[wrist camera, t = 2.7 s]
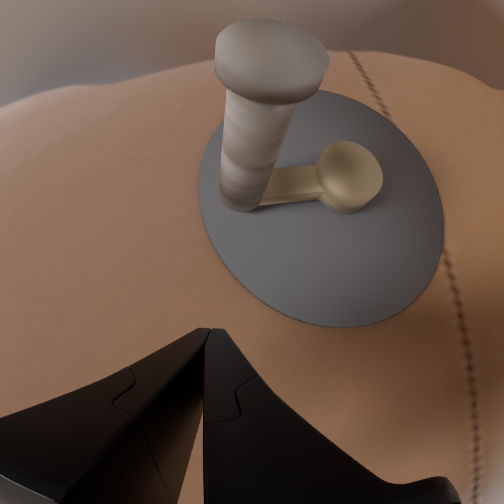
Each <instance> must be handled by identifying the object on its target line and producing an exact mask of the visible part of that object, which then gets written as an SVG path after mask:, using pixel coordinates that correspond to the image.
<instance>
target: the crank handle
mask: <svg viewBox="0 0 504 504" xmlns="http://www.w3.org/2000/svg"><path fill="white" fill-rule="evenodd" d="M328 65H329V55H328V52H327V50H326V49H325V47H324V46H323V44H322V43H321V42H320V41H319V40H318V39H317V38H316V37H314V36H313V35H312V34H310V33H309V32H307V31H305V30H303V29H301V28H299V27H297V26H295V25H292V24H289V23H285V22H282V21H276V20H270V19H250V20H244V21H240V22H237V23H234V24H232V25H230V26H228V27H226V28H225V29H224V30H223V31H221V32H220V34H219V35H218V37H217V40H216V49H215V72H216V75H217V77H218V79H219V80H220V81H221V83H222V84H223V85H224V86H225V87H226V88H227V95H226V106H225V117H224V128H223V140H222V153H221V166H220V180H219V196H220V199H221V201H222V202H223V204H224V205H225V206H226V207H228V208H229V209H231V210H234V211H237V212H247V211H250V210H253V209H255V208H256V207H257V206H261V205H270V204H279V203H288V202H298V201H308V200H319V201H320V202H321V203H322V204H323V205H325V206H326V207H327V208H329V209H331V210H333V211H335V212H338V213H343V214H350V213H354V212H357V211H358V210H360V209H361V208H362V207H363V206H365V205H366V204H367V203H368V202H369V201H370V200H371V199H372V198H373V197H374V196H375V195H376V194H377V193H378V192H379V190H380V189H381V187H382V183H383V174H382V170H381V167H380V165H379V163H378V161H377V159H376V158H375V157H374V156H373V154H372V153H371V152H370V151H368V150H367V149H366V148H364V147H363V146H361V145H359V144H357V143H354V142H351V141H336V142H333V143H331V144H329V145H328V146H327V147H326V148H325V149H324V151H323V153H322V154H321V156H320V158H319V160H318V161H317V163H316V165H311V166H295V167H281V168H274V166H275V163H276V160H277V158H278V155H279V152H280V149H281V147H282V144H283V141H284V139H285V136H286V133H287V130H288V128H289V125H290V122H291V120H292V117H293V114H294V111H295V109H296V106H297V103H299V102H302V101H304V100H307V99H308V98H310V97H312V96H313V95H314V94H315V93H316V92H317V90H318V89H319V87H320V84H321V82H322V80H323V77H324V75H325V73H326V70H327V68H328Z"/></svg>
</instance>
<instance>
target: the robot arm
mask: <svg viewBox="0 0 504 504" xmlns="http://www.w3.org/2000/svg"><path fill="white" fill-rule="evenodd" d="M202 413H203V487H204V504H462V503H461V500H460V498H459V495H458V493H457V491H456V489H455V488H454V486H453V485H452V483H451V482H450V481H449V480H448V479H447V478H446V477H442V476H437V477H430V478H426V479H422V480H419V481H415V482H412V483H407V484H393V483H389V482H386V481H384V480H382V479H380V478H379V477H377V476H376V475H375V474H373V473H372V472H371V471H369V470H368V469H366V468H365V467H364V466H362V465H361V464H360V463H358V462H357V461H356V460H354V459H353V458H352V457H351V456H349V455H348V454H347V453H345V452H344V451H343V450H342V449H340V448H339V447H338V446H336V445H335V444H334V443H333V442H331V441H330V440H329V439H328V438H326V437H325V436H324V435H323V434H321V433H320V432H319V431H318V430H317V429H315V428H314V427H313V426H312V425H311V424H309V423H308V422H307V421H306V420H305V419H303V418H302V417H301V416H300V415H299V414H297V413H296V412H295V411H294V410H293V409H292V408H290V407H289V406H288V405H287V404H286V403H285V402H284V401H283V400H281V399H280V398H279V397H278V396H277V395H276V394H275V393H274V392H273V391H272V390H271V388H270V387H269V386H268V385H267V384H266V383H265V381H264V380H263V379H262V378H261V376H259V374H258V373H257V372H256V370H255V369H254V368H253V366H252V365H251V364H250V363H249V361H248V360H247V359H246V357H245V356H244V355H243V353H242V352H241V351H240V349H239V348H238V347H237V345H236V344H235V343H234V341H233V340H232V338H231V337H230V336H229V334H228V333H227V332H226V330H225V329H217V328H213V329H212V330H211V329H210V328H197V329H195V330H193V331H192V332H190V333H188V334H186V335H185V336H183V337H181V338H179V339H177V340H176V341H174V342H172V343H170V344H168V345H167V346H165V347H163V348H161V349H159V350H158V351H156V352H154V353H152V354H150V355H148V356H147V357H145V358H143V359H141V360H139V361H137V362H136V363H134V364H132V365H130V366H129V367H125V368H124V369H122V370H120V371H118V372H116V373H114V374H112V375H110V376H108V377H106V378H104V379H101V380H99V381H97V382H94V383H92V384H90V385H87V386H85V387H82V388H80V389H77V390H75V391H72V392H69V393H67V394H64V395H62V396H59V397H57V398H54V399H51V400H49V401H46V402H43V403H41V404H38V405H35V406H32V407H30V408H27V409H24V410H21V411H18V412H16V413H13V414H10V415H7V416H4V417H1V418H0V504H177V502H178V499H179V495H180V492H181V488H182V484H183V481H184V477H185V474H186V470H187V466H188V463H189V459H190V456H191V452H192V448H193V445H194V441H195V438H196V434H197V431H198V427H199V423H200V420H201V416H202Z"/></svg>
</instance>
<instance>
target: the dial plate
mask: <svg viewBox="0 0 504 504" xmlns="http://www.w3.org/2000/svg"><path fill="white" fill-rule="evenodd" d="M223 128H224V120H223V122H222V123H221V124H220V125H219V127H218V128H217V129H216V130H215V132H214V134H213V135H212V137H211V139H210V141H209V142H208V144H207V147H206V150H205V152H204V155H203V158H202V163H201V167H200V172H199V200H200V209H201V214H202V218H203V221H204V225H205V229H206V231H207V234H208V236H209V238H210V241H211V243H212V245H213V247H214V249H215V251H216V252H217V254H218V256H219V257H220V259H221V261H222V262H223V264H224V265H225V266H226V268H227V269H228V270H229V271H230V273H231V274H232V275H233V276H234V278H235V279H236V280H237V281H238V282H239V283H240V284H241V285H242V286H243V287H244V288H245V289H247V290H248V291H249V292H250V293H251V294H252V295H253V296H255V297H256V298H258V299H259V300H260V301H262V302H263V303H264V304H266V305H267V306H269V307H271V308H272V309H274V310H276V311H278V312H280V313H282V314H284V315H285V316H288V317H291V318H293V319H296V320H299V321H301V322H304V323H308V324H313V325H317V326H322V327H334V328H348V327H359V326H364V325H369V324H372V323H376V322H380V321H382V320H384V319H387V318H389V317H391V316H394V315H395V314H397V313H398V312H400V311H401V310H403V309H404V308H406V307H407V306H408V305H409V304H411V303H412V302H413V301H414V300H415V299H416V298H417V297H418V296H419V295H420V294H421V292H422V291H423V290H424V289H425V287H426V286H427V284H428V283H429V281H430V279H431V278H432V276H433V274H434V272H435V269H436V267H437V264H438V262H439V258H440V254H441V250H442V245H443V236H444V218H443V211H442V204H441V200H440V196H439V192H438V189H437V186H436V184H435V181H434V178H433V176H432V174H431V172H430V170H429V168H428V166H427V164H426V163H425V161H424V159H423V158H422V156H421V155H420V153H419V152H418V150H417V149H416V148H415V146H414V145H413V144H412V142H411V141H410V140H409V139H408V138H407V137H406V136H405V135H404V134H403V133H402V132H401V131H400V130H399V129H398V128H397V127H396V126H395V125H394V124H393V123H392V122H390V121H389V120H388V119H386V118H385V117H384V116H382V115H381V114H380V113H378V112H376V111H375V110H373V109H371V108H370V107H368V106H366V105H364V104H362V103H360V102H358V101H356V100H354V99H351V98H348V97H346V96H343V95H340V94H336V93H332V92H328V91H322V90H317V92H316V93H315V94H314V95H313V96H312V97H310V98H308V99H307V100H304V101H302V102H299V103H297V106H296V109H295V111H294V114H293V117H292V120H291V122H290V125H289V128H288V130H287V133H286V136H285V139H284V141H283V144H282V147H281V149H280V152H279V155H278V158H277V160H276V163H275V166H274V168H281V167H295V166H311V165H316V163H317V161H318V160H319V158H320V156H321V154H322V153H323V151H324V149H325V148H326V147H327V146H328V145H329V144H331V143H333V142H336V141H351V142H354V143H357V144H359V145H361V146H363V147H364V148H366V149H367V150H368V151H370V152H371V153H372V154H373V156H374V157H375V158H376V159H377V161H378V163H379V165H380V167H381V170H382V174H383V183H382V187H381V189H380V190H379V192H378V193H377V194H376V195H375V196H374V197H373V198H372V199H371V200H370V201H369V202H368V203H367V204H366V205H365V206H363V207H362V208H361V209H360V210H358V211H357V212H354V213H350V214H343V213H338V212H335V211H333V210H331V209H329V208H327V207H326V206H325V205H323V204H322V203H321V202H320V201H319V200H308V201H298V202H288V203H279V204H270V205H261V206H257V207H256V208H255V209H253V210H250V211H247V212H237V211H234V210H231V209H229V208H228V207H226V206H225V205H224V204H223V202H222V201H221V199H220V196H219V180H220V166H221V153H222V140H223Z"/></svg>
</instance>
